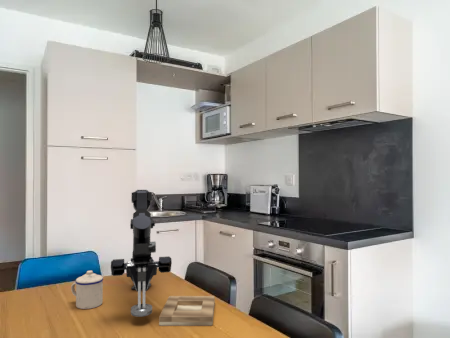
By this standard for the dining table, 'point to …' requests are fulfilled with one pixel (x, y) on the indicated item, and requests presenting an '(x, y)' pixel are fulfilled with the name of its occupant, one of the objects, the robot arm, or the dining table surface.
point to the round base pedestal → (140, 308)
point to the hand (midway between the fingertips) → (141, 290)
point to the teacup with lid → (88, 290)
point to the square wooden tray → (188, 311)
